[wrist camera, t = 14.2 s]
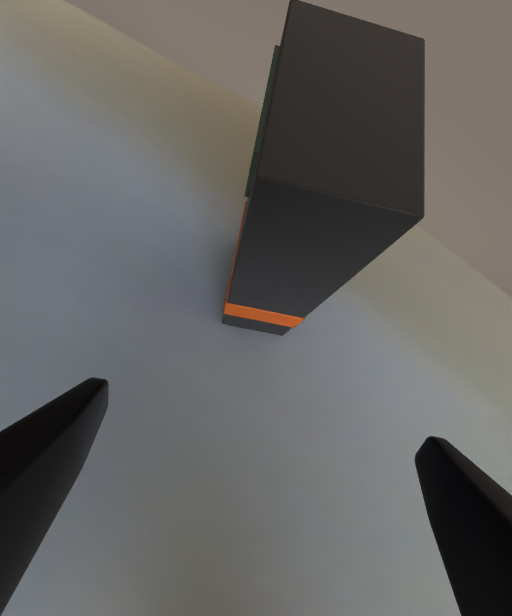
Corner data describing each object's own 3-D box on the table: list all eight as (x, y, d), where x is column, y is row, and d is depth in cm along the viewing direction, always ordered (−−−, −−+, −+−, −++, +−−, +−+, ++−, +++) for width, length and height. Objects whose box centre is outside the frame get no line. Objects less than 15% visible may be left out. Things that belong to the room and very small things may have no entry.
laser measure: (295, 252, 20) (427, 36, 8) (283, 336, 18) (428, 219, 7) (236, 238, 20) (285, -7, 8) (219, 324, 18) (248, 175, 6)
